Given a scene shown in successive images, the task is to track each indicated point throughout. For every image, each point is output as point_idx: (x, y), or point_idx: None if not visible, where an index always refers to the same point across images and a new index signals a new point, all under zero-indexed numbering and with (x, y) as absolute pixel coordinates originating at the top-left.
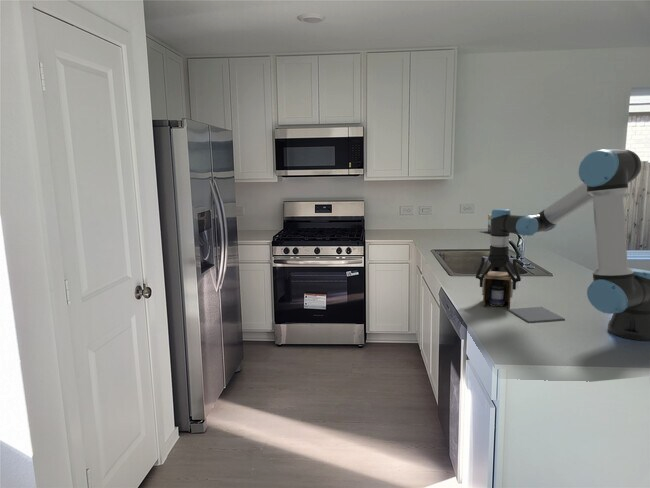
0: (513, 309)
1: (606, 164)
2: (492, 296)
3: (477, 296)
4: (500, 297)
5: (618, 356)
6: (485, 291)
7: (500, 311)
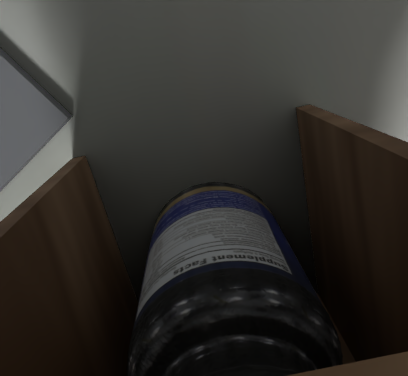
0: (20, 129)
1: None
2: (257, 223)
3: None
4: (168, 234)
5: None
6: (363, 258)
7: (122, 44)
